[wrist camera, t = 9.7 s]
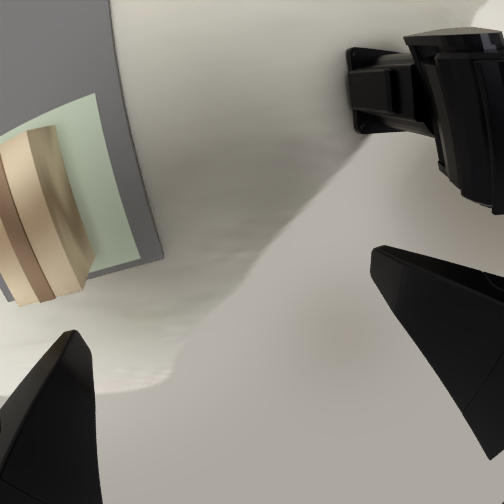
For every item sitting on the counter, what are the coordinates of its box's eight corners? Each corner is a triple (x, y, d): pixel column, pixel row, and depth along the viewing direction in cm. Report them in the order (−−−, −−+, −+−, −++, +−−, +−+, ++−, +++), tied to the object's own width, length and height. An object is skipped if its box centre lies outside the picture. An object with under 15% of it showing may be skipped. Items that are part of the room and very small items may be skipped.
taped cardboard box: (95, 256, 18) (81, 291, 14) (38, 273, 17) (18, 308, 13) (54, 124, 13) (25, 130, 10) (-6, 154, 12) (-40, 168, 9)
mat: (107, -93, 6) (106, -98, 5) (163, 254, 20) (163, 259, 19) (-49, -10, 4) (-53, -11, 3) (10, 297, 17) (7, 302, 17)
